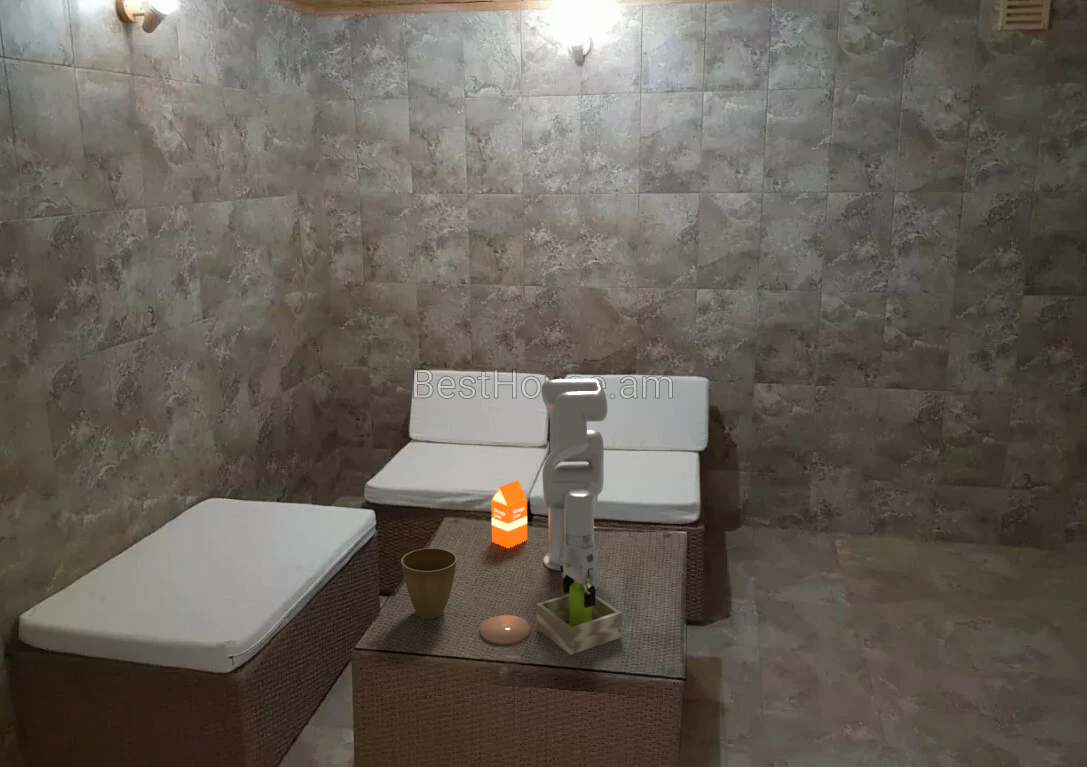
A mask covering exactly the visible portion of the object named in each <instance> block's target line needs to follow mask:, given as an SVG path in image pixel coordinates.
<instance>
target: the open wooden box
mask: <svg viewBox="0 0 1087 767" xmlns="http://www.w3.org/2000/svg"><path fill="white" fill-rule="evenodd" d="M569 615H570V593H568V594H564V595H562V596H558V597H555V598H552V599H548V600H546V601H541V602H538V603H537V604H536V629H538V630H539V631H540V632H541V633H543V634H544V635H545V636H546V637H547V638H548V639H550V640H551V641H553V642H554V644H556V645H557V646H558V647H560V648H561V649H562V650H564V651H565V652H566V653H567V654H568V655H569V656H572V655H575V654H577V653H580V652H583V651H586V650H589V649H592V648H595V647H597V646H600V645H603V644H606V643H609V642H611V641H615V640H617V639H620V638H622V625H623V624H622V621H623V620H622V619H623V617H622V616H623V612H621V611H620V610H618V609H617V608H616V607H614V606H612V604H610V603H608V602H607V601H605V600H604V599H602V598H600V597H599V596H597V595H596V600H595V605H594V606H592V621H589V622H586V623H583V624H580V625H577V626H574V627H571V626H569V623H566V621H569Z"/></svg>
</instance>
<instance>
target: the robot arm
mask: <svg viewBox="0 0 1087 767" xmlns="http://www.w3.org/2000/svg"><path fill="white" fill-rule="evenodd" d="M541 397H542V401H543V402H544V406H545V407H546V410H547V413H548V416H549V443H550V444H549V448H550V449H549V450H550V453H549V454H548V456H547V458H546V460H545V462H544V465H543V467H542V474H541V475H542V477H541V478H542V479H541V480H542V493H543V494H542V496H543V502H544V504H545V506H546V507H547V508H548V553H547V554H545V556H543V564H544V566H545V567H546V568H548V569H551V570H554V571H558V572H561V578H562V592H563V593H564V594H566V593H570V585H571V584H573V583H574V580H576V581H577V582H579V583H580V584H583V586H584V589H585V591H586V593H584V607H585V608H588V607H591V606H594V605H595V600H596V596H597V595H596V594H597V592H598V590H599V589H600V585H601V582H602V581H601V580H600V578H599V577H598V576H599V572H598V557H597V550H596V549H597V548H596V546H595V540H594V539H595V535H594V534H595V530H594V529H595V506H596V503H597V502H598V497H599V495H601V493H602V492H603V490H604V480H605V479H604V477H605V476H604V475H605V474H604V473H605V472H604V471H605V469H604V468H605V466H604V464H605V463H604V461H605V460H604V456H605V454H604V452H605V451H604V450H605V449H604V447H605V446H604V440H603V436H602V433H600V431H598V430H597V429H596V430H595V429H588V427H587V422H603V421H604V420H606V418H607V414H608V401H607V395H606V393H605V390H604V388H603V385H602V383H601V381H600V380H599V379H596V378H557V379H556V378H554V379H549V380H546V381H544V382H543V383H542V385H541ZM572 462H573V463H577V462H581V464H580V463H579V464H578V463H577V464H572ZM582 462H586V463H583V464H582ZM561 463H566V464H561ZM567 463H571V464H567ZM566 563H567V564H569V565H570V567H569V568H567V567H566ZM586 580H587V581H586ZM587 584H590V585H591V587H590V588H588V585H587Z"/></svg>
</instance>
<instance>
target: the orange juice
mask: <svg viewBox="0 0 1087 767" xmlns="http://www.w3.org/2000/svg"><path fill="white" fill-rule="evenodd" d="M490 503H491V535H492V536H491V542H492V543H493V542H494V544H496V545H498V544H499V546H500V545H501V547H503V546H504V547H503V548H505V547H506V548H505V549H508V548H509V549H510V547H511V548H513V547H515V545H516V546H518V545H521V544H522V542H523V543H524V541H525V542H527V541H528V499H527V497H526V495H525V492H524V490H523V488H522V486H521V484H520V481H519V479H518V480H515V481H512V482H510V483H507V484H505V485H501V486H499V487H498V488H497V490H496V492H495V493H494V496H492V499H491V502H490ZM526 540H527V541H526ZM517 544H518V545H517Z"/></svg>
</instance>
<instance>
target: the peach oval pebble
mask: <svg viewBox="0 0 1087 767" xmlns="http://www.w3.org/2000/svg"><path fill="white" fill-rule="evenodd" d="M530 630H531V626H530V623H529V622H528V620H526V619H524V618H523V617H520V616H518V615H511V614H509V615H508V614H504V615H501V614H500V615H495V616H492V617H489V618H487V619H486V620H484V621H483V622H482V623H481V625H480V631H479V632H480V635H481V637H482V639H484V640H485V641H487V642H489V643H492V644H497V645H511V644H516V643H520V642H522V641H523V640H526V639H527V638H528V637H529V635H530V633H531V632H530Z"/></svg>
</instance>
